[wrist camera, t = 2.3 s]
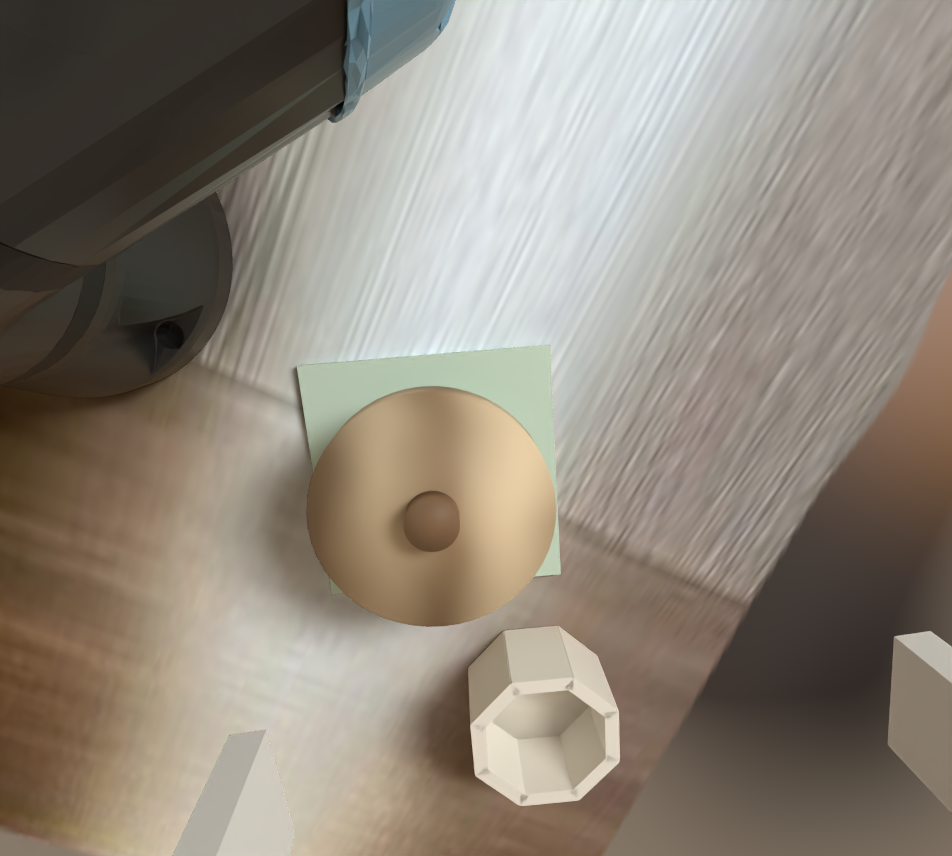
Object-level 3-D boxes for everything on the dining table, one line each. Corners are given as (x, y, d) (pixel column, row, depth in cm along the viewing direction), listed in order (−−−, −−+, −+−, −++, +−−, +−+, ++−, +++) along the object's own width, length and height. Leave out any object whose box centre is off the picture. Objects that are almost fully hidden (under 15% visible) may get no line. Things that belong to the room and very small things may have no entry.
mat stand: (333, 591, 36) (317, 633, 32) (298, 365, 32) (275, 378, 28) (559, 571, 36) (573, 609, 32) (548, 344, 33) (563, 354, 28)
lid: (333, 615, 31) (320, 651, 28) (299, 396, 28) (280, 410, 25) (554, 594, 32) (565, 628, 29) (543, 376, 29) (555, 387, 26)
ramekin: (474, 744, 39) (478, 810, 34) (464, 634, 37) (466, 687, 32) (599, 732, 39) (620, 796, 34) (596, 621, 37) (618, 673, 32)
